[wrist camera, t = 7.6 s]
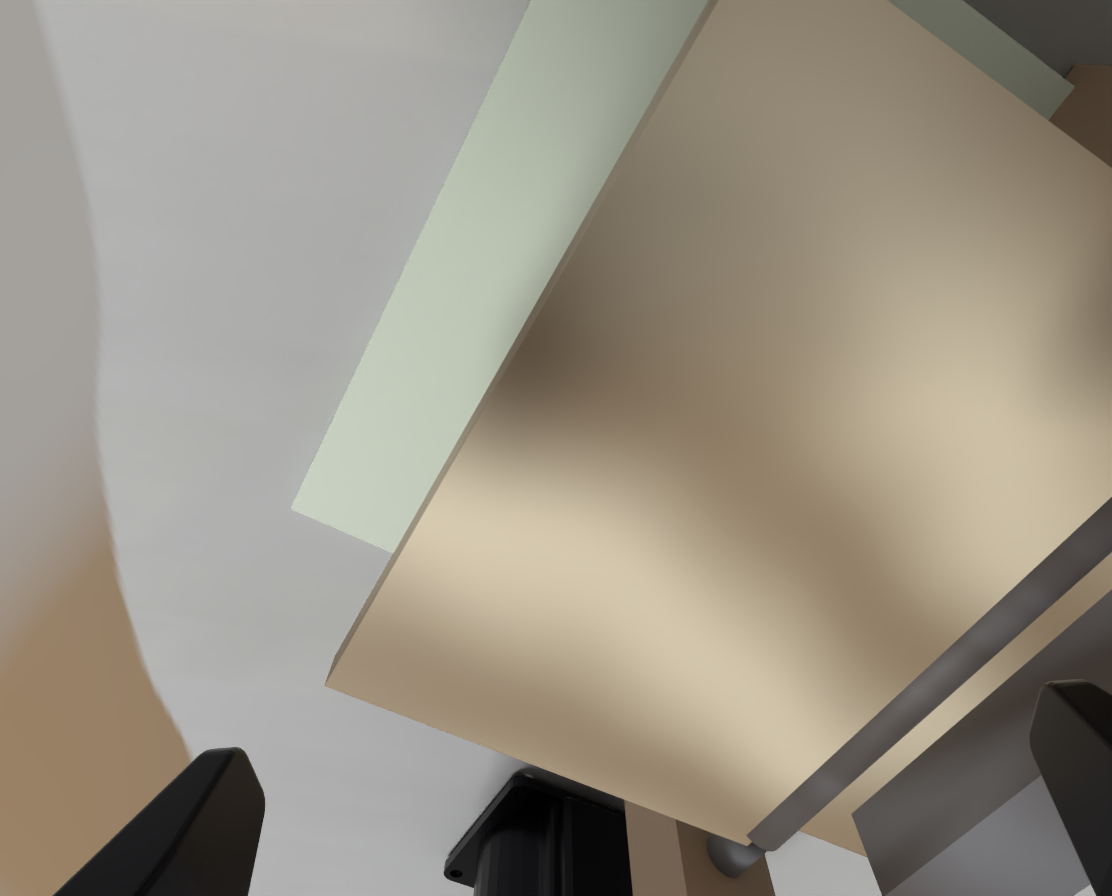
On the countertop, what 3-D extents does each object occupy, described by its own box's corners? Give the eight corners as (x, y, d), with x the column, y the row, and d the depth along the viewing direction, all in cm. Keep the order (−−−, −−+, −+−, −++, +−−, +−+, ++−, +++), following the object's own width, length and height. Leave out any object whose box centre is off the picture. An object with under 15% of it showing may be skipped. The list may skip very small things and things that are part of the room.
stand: (704, 689, 26) (773, 990, 18) (290, 510, 23) (138, 783, 14) (1190, 152, 18) (1740, 251, 10) (656, -264, 14) (797, -680, 6)
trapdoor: (884, 863, 19) (934, 988, 16) (337, 649, 15) (295, 765, 13) (1433, 426, 13) (1638, 517, 11) (749, -77, 10) (816, -116, 7)
